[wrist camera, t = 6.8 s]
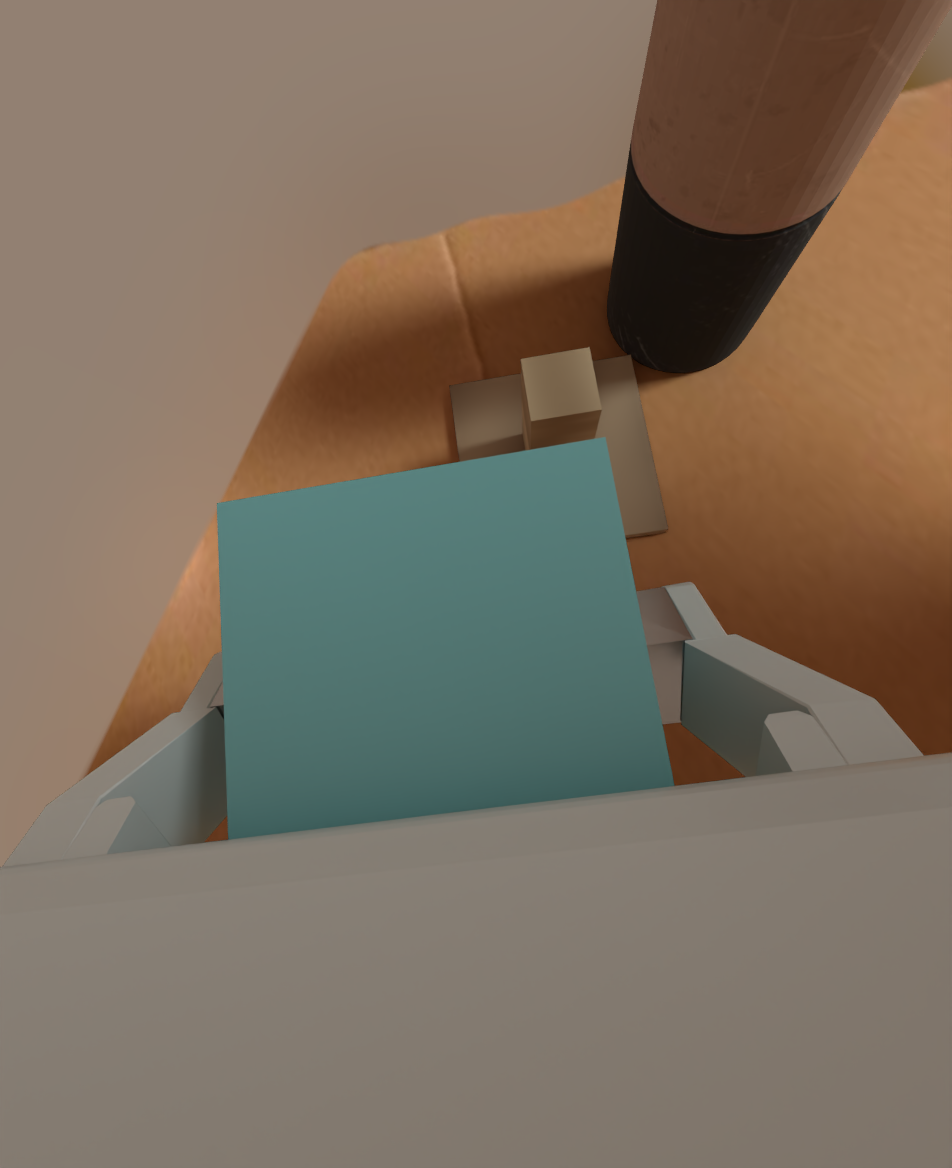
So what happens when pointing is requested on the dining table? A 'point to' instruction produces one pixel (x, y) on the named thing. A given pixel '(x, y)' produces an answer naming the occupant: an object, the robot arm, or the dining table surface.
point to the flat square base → (567, 422)
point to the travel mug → (745, 157)
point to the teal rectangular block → (433, 644)
